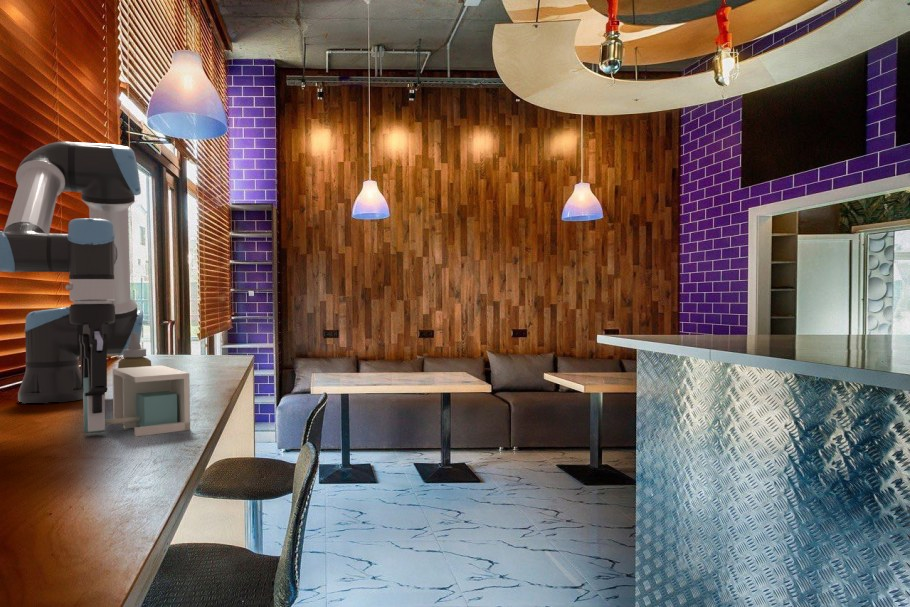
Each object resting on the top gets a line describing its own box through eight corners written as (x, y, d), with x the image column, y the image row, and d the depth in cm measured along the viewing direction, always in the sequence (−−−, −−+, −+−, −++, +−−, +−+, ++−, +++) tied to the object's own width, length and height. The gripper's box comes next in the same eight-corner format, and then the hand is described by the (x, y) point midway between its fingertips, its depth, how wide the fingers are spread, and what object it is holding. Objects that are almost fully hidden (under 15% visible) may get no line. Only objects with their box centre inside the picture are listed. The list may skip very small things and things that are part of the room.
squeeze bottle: (106, 416, 151) (105, 333, 151) (139, 410, 158) (138, 331, 158) (131, 418, 147) (130, 334, 147) (163, 413, 154) (162, 332, 154)
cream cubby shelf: (113, 421, 144) (112, 368, 144) (162, 416, 150) (162, 365, 150) (135, 436, 129) (135, 377, 128) (190, 429, 134) (189, 373, 134)
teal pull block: (81, 430, 130) (80, 377, 130) (168, 420, 140) (167, 371, 140) (87, 435, 126) (86, 380, 126) (177, 424, 135) (176, 373, 135)
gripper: (62, 302, 133) (64, 424, 133) (77, 303, 120) (79, 438, 120) (105, 302, 138) (107, 420, 138) (124, 302, 124) (126, 433, 125)
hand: (94, 428), depth 129 cm, fingers closed on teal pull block, 3 cm apart
